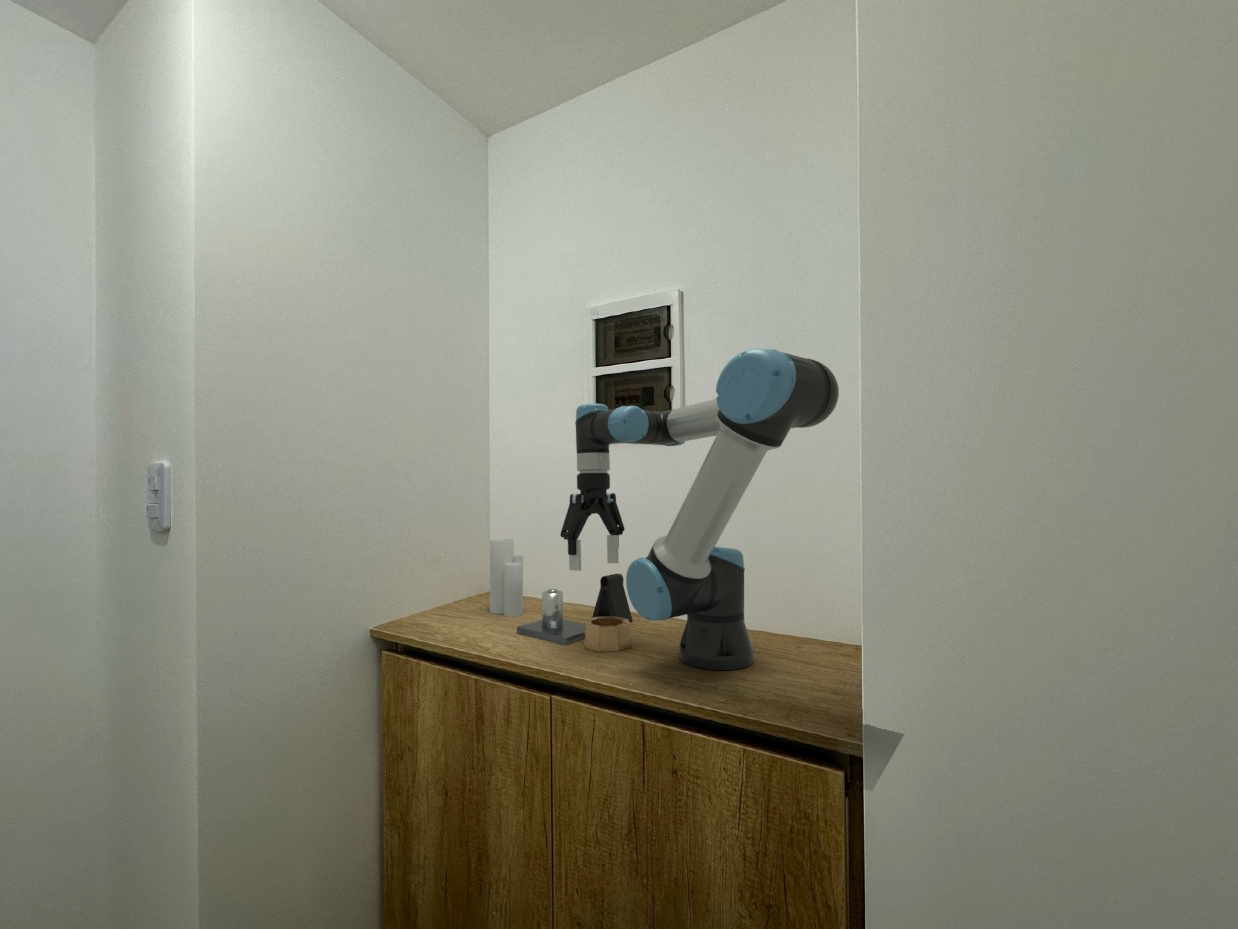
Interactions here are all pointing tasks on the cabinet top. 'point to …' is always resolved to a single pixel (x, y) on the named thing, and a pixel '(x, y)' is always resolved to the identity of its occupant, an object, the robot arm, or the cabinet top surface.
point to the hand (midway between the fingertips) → (594, 566)
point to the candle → (505, 579)
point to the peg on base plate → (553, 622)
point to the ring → (606, 633)
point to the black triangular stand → (612, 598)
